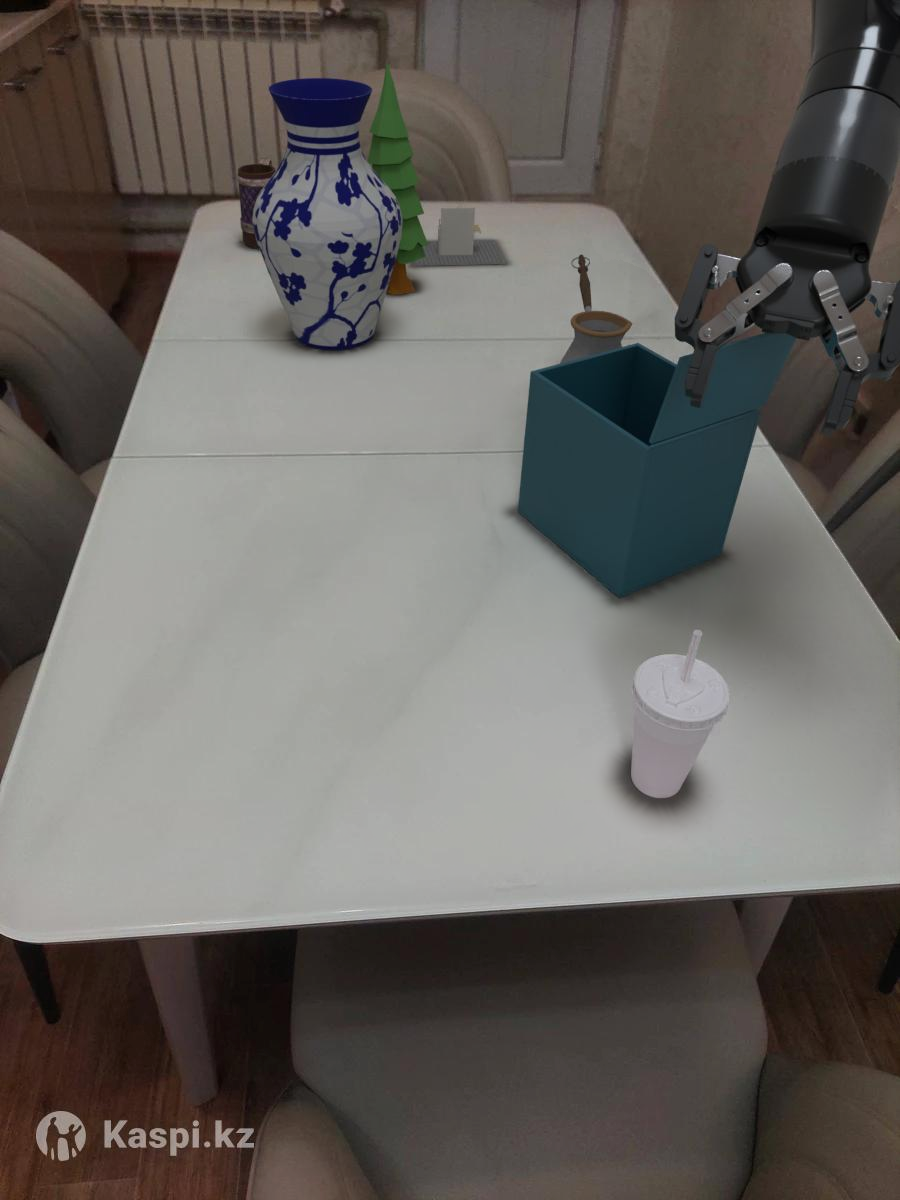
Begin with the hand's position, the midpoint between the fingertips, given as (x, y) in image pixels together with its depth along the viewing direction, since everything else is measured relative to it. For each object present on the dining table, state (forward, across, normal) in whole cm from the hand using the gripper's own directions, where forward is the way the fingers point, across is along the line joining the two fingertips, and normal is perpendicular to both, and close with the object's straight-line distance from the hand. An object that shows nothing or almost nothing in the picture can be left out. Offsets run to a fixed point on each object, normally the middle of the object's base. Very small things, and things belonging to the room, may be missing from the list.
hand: (760, 417), depth 58 cm
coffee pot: (-12, -21, +46) cm, 52 cm away
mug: (-36, -87, +71) cm, 118 cm away
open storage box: (+5, -10, +29) cm, 31 cm away
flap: (-6, -4, +11) cm, 13 cm away
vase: (-16, -58, +50) cm, 79 cm away
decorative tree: (-29, -58, +64) cm, 91 cm away
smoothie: (+25, 0, +9) cm, 27 cm away
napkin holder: (-42, -56, +77) cm, 104 cm away
